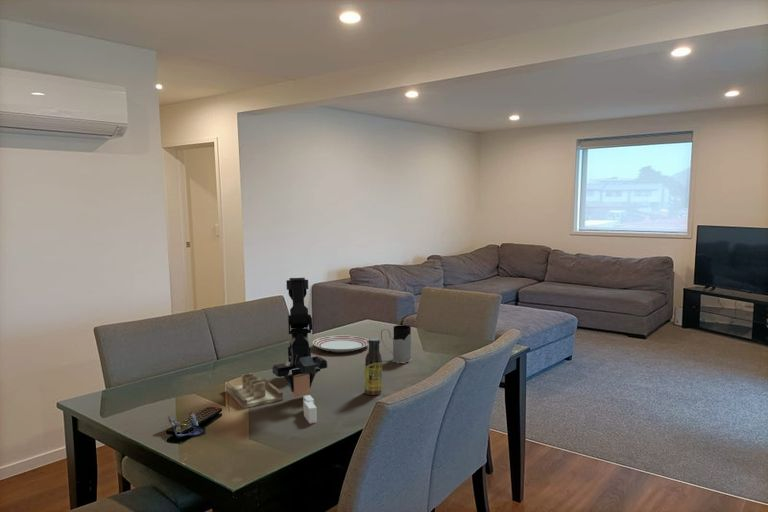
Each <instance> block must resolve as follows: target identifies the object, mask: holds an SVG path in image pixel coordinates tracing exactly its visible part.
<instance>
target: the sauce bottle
mask: <svg viewBox="0 0 768 512" xmlns="http://www.w3.org/2000/svg"><path fill="white" fill-rule="evenodd" d="M368 340H369V341H368V343H369V345H368V352H367V354H366V356H365V364H364V386H363V387H364V393H365V394H366V395H369V396H378V395H380V394H381V393H382V390H383V389H382V384H383V383H382V379H383V359H382V354H381V353H380V343H381V338H378V337H377V338H376V337H373V338H369V339H368Z"/></svg>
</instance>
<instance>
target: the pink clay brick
mask: <svg viewBox="0 0 768 512" xmlns="http://www.w3.org/2000/svg"><path fill="white" fill-rule="evenodd" d="M293 385H294V392H291V396H292V397H293V398H296V397H300V396H307V395H310V394H311V388H310V374H308V373H307V374H299V375H294V377H293Z"/></svg>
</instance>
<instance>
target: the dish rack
mask: <svg viewBox="0 0 768 512" xmlns="http://www.w3.org/2000/svg"><path fill="white" fill-rule="evenodd" d="M225 392H226V393H227V394H229V396H230V397H232V398H233V400H234V401H235V402H236V403H238V404H239V406H241V407H242V409H247V408H251V407H252V408H253V407H257V406H261V405H265V404H270V403H275V402H279V401H284V395H283V394H284V392H283V391H282V390H280V389H279V388H278V387H276V386H275V385H274V384H272V383H271V382H270V381H269V380H267V379H266V378H264V377H263V376H261V377H259V378H258V376H257V375H255V376H254V373H253V372H250V373H245V374H241V384H240V385H234V386H232V385H231V383H225Z"/></svg>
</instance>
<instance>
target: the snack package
mask: <svg viewBox="0 0 768 512" xmlns="http://www.w3.org/2000/svg"><path fill="white" fill-rule="evenodd" d="M188 415H189V418H191V424H190V425H191V426H192V427H193V428H194V429H193V431H191V432H190V431H188V433H185V434H177V432H176V430H177V429H176V428H177V425H178V424H179V423H182V422H181V421H179V422H177V421H176V419H173V418H171V417H170V416H167V418H168V422H169V423H170V424H171V426H172V428H173V431H174V434H175V437H176V438H177V439H180V438H184V437H187V436H190V437H191V438H194V437H199V436H201V435H203V434H204V435H205V434H206V432H207V431H206V428H205V427H203V426H201V425H199V422H198V417H196V414H194V413H193V412H192V411H191V412H190V413H189V414H188Z"/></svg>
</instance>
